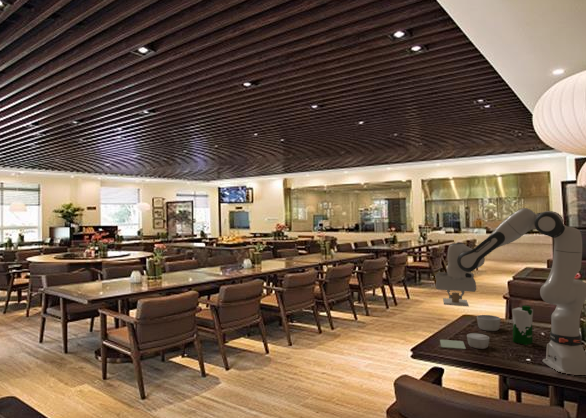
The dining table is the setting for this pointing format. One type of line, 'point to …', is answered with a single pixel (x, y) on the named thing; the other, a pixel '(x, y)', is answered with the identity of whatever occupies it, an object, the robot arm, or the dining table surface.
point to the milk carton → (522, 325)
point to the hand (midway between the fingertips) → (455, 298)
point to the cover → (455, 300)
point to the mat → (452, 344)
